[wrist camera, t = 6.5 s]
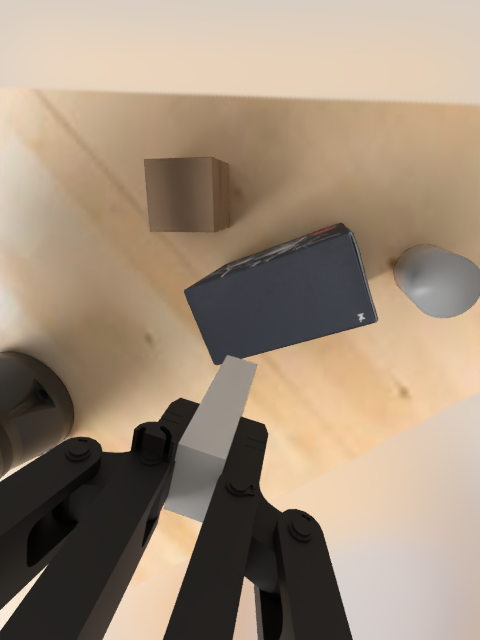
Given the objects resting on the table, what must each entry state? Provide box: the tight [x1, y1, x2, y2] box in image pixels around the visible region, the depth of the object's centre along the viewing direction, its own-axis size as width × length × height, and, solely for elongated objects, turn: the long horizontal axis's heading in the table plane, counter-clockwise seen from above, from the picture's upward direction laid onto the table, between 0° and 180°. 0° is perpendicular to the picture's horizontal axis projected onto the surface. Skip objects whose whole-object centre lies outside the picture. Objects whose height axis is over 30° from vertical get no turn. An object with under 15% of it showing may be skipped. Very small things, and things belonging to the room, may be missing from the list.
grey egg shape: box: [394, 245, 480, 318], centre depth 31 cm, size 5×5×7 cm
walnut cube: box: [144, 157, 229, 232], centre depth 33 cm, size 6×6×6 cm
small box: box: [184, 223, 378, 365], centre depth 31 cm, size 13×7×12 cm, turn 112°
